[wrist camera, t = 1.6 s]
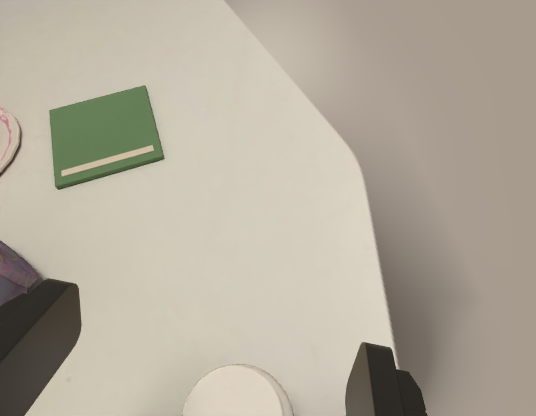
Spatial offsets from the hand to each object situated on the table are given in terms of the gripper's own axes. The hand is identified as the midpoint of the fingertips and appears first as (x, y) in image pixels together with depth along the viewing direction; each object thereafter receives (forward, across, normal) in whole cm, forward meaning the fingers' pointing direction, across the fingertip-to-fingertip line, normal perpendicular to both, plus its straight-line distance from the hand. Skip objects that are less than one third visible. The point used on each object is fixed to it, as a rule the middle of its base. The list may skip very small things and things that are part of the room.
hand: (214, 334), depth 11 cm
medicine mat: (+29, +17, +6) cm, 34 cm away
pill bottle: (+9, -2, +17) cm, 19 cm away
